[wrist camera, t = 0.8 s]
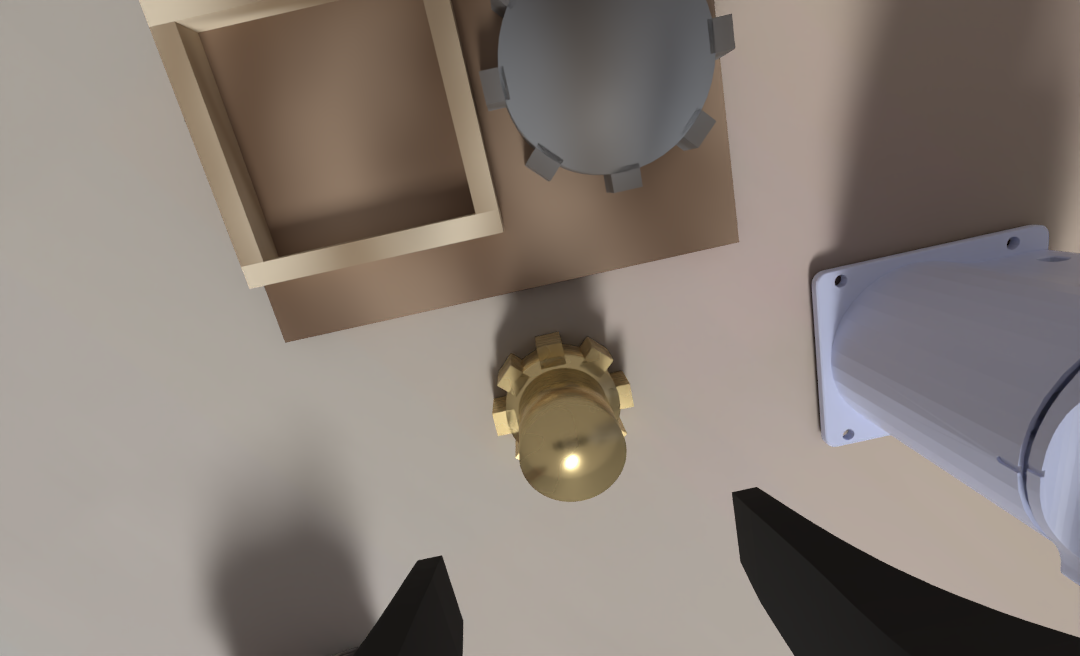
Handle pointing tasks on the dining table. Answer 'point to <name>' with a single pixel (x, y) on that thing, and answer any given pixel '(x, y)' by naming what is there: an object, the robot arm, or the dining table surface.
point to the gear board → (450, 143)
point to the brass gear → (565, 417)
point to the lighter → (347, 652)
